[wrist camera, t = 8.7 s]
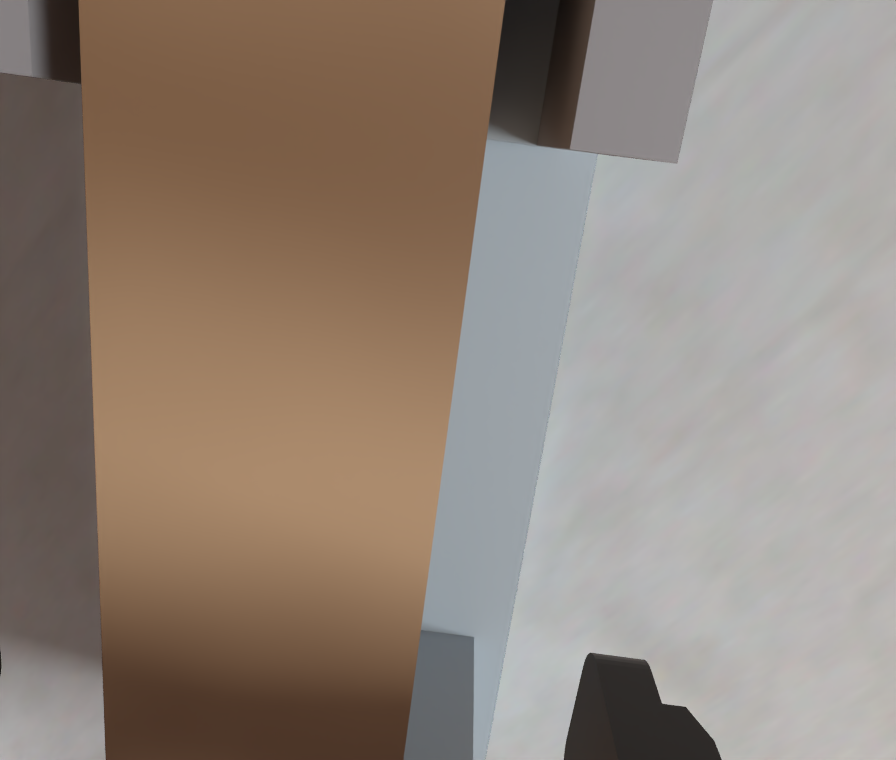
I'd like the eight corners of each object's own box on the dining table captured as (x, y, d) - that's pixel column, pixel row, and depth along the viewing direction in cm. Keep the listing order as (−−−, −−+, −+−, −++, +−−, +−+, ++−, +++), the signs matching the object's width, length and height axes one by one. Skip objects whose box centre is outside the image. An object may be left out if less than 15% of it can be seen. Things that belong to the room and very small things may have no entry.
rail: (249, -94, 10) (68, -278, 5) (509, -60, 10) (535, -216, 5) (218, 910, 16) (121, 1198, 11) (378, 931, 16) (341, 1226, 11)
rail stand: (241, -128, 16) (-293, -730, 5) (633, -75, 16) (979, -553, 5) (215, 709, 24) (-20, 1220, 13) (483, 745, 24) (487, 1287, 13)
